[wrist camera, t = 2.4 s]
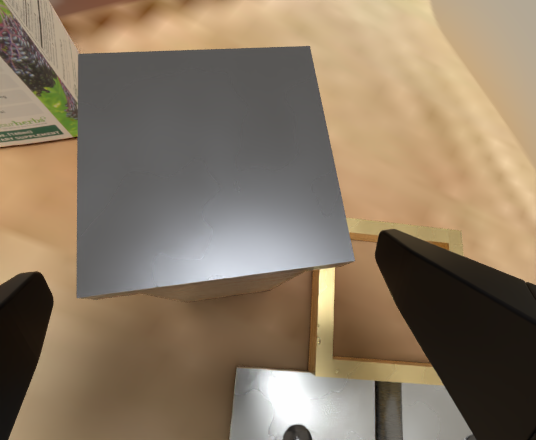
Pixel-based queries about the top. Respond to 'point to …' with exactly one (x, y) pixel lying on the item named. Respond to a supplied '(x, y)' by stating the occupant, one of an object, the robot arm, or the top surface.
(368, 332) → the top surface
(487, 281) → the robot arm
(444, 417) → the hinge leaves
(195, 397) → the top surface
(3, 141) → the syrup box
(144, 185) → the pin
